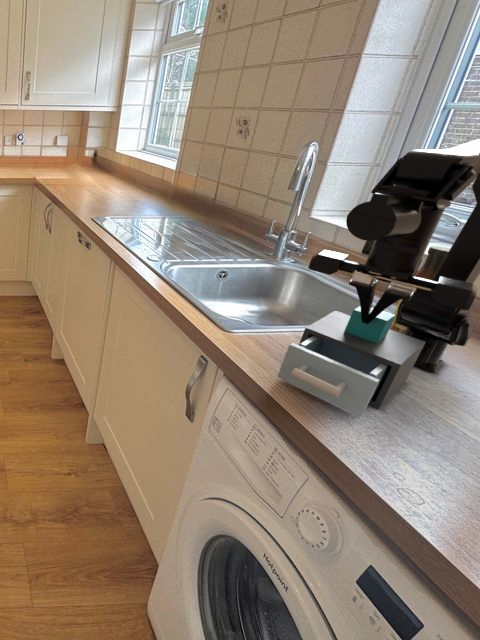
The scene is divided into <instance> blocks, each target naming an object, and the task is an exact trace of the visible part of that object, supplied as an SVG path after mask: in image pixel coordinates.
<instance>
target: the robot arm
mask: <svg viewBox="0 0 480 640" xmlns="http://www.w3.org/2000/svg"><path fill="white" fill-rule="evenodd" d="M470 185H471V189H472V192H473V195H474V198H475V202H476V204H475V206H474V207H473V209H472V211H471V213H470V215H469V216H468V218H467V220H466V221H465V223H464V225H463V227H462V228H461V230H460V231H459V233H458V235H457V237H456V238H455V240H454V242H453V244H452V245H451V247H450V250H449V252H448V254H447V256H446V257H445V259H444V261H443V262H442V264H441V266H440V267H439V269H438V271H437V273H436V274H435V276H434V278H433V279H432V280H427V279H423V278H419V277H414V274H416V272H417V271H418V270H419V269H420V265H421V264H422V261H423V257H424V255H425V253H426V250H427V248H428V246H429V244H430V242H431V240H432V238H433V235H434V233H435V231H436V229H437V227H438V224H439V223H440V220H441V218H442V217H443V214H444V212H445V209H446V208H449V207H450V206H452V202H453V201H454V200H455V199H456V198H457V197H459V196H460V194H462V193H463V192H464V191H465V190H466V189H467V188H468V187H469V186H470ZM370 192H371V194H372V196H371V198H370V200H369V201H365V202H362V203H359V204H357V205H356V206H355V207H353V208H352V209H351V211H349V212H348V214H347V216H346V219H345V223H346V228H347V230H348V231H349V233H350V234H351V235H352V236H353V237H355V238H357V239H358V240H362V241H365V243H364V245H363V247H362V249H361V255H363V256H367V258H366V261H365V264H364V263H359V262H356V261H351V260H348V259H349V254H347V253H342V252H338V251H334V250H328V249H324V248H323V249H322V250H320V251H318V252H317V253H315V254H313V256H312V257H311V259H310V262H309V265H308V267H307V269H309V270H310V271H314V272H318V273H321V274H325V275H329V276H330V275H334V274H336V273H338V272H339V271H340V272H344V273H349V274H352V275H351V276H352V278H351V279H350V280H349V282H348V285H349V286H351V287H355V291H356V293H357V296H358V301H359V304H360V305H359V306H360V307H361V317H362V323H366V324H369V323H370V322H371V321H372V320H373V319H374V318H376V317H377V316H378V315H379V314H380V313H381V312H382V311H385V310H386V309H387V308H389V307H390V306H392V305H394V304H396V302H399V301H400V299H403V300H402V301H401V303H400V305H399V307H398V312H397V316H396V320H395V323H396V324H400V325H402V326H405V327H407V329H406V331H405V333H404V335H407V336H410V337H413V338H416V339H419V340H422V341H425V344H424V346H423V348H422V350H421V352H420V354H419V356H418V358H417V360H416V362H415V364H414V366H416V367H417V368H421V369H424V370H426V371H429V372H432V373H436V372H437V371H438V369H440V368H441V366H442V365H443V364H444V362H445V361H444V360H443V359H441V358H442V356H443V355H444V353H445V351H446V349H447V348H448V346H449V345H450V346H451V347H452V346H459V347H460V346H461V347H465V346H466V345H467V343H468V342H469V340H470V338H471V336H472V334H473V332H474V331H473V322H472V321H473V320H472V317H471V316H470V315H471V314H472V311H473V310H474V307H475V304H474V301H475V299H476V297H477V292H478V287H477V286H476V285H475V284H474V283H475V282H476V280H477V279H478V277H479V275H480V138H477V139H474V140H471V141H468V142H465V143H462V144H459V145H455V146H453V147H450V148H447V149H446V148H445V149H438V148H437V149H436V148H434V149H433V148H431V149H430V148H429V149H427V148H425V149H411V150H410V151H409V152H406V153H405V154H404V155H402V156H401V157H399V158H398V159H397V160H396V162H395V163H394V164H393V165H392V166H391V167H390V168H389V169H388V170H387V172H386V173H385V174H384V175H383V176H382V178H381V179H379V181H378V183H376V185H375V186H374V187H373V189H372V190H371V191H370ZM379 282H383V283H384V282H385V283H388V284H389V285H388V286H387V288H386V290H385V291H384V292H383V294H382V295H381V297H380V298H379V299H378V301H377V302H376V304H375V305H374V307H373V302H374V297H375V293H376V290H377V287H378V284H379ZM371 307H373V310H372V311H371ZM370 311H371V313H370Z"/></svg>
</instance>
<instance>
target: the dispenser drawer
mask: <svg viewBox="0 0 480 640" xmlns="http://www.w3.org/2000/svg"><path fill="white" fill-rule="evenodd" d="M299 343H300V342H299ZM391 368H392V366H390V365H387V364H385V363H382V362H380V361H377V360H375V359H372V358H370V357H367V356H365V355H362V354H360V353H357V352H355V351H352V350H350V349H347V348H345V347H342V346H340V345H337V344H335V343H332V342H330V341H327V340H325V339H322V338H320V337H317V336H315V335H314V336H312V337H310V338H309V339H307V340H305V341H304V342H302V343H300V345H299V344H296V343H294V342H291V343H289V344H288V346H287V350H286V352H285V354H284V358H283V359H282V363H281V365H280V368H279V370H278V373H277V377H276V378H278V379H279V380H281V381H283V382H286V383H287V384H290V385H291V386H294V387H295V388H298V389H300V390H301V391H303V392H305V393H308V394H310V395H312V396H314V397H315V398H318V399H320V400H321V401H324V402H325V403H328V404H330V405H332V406H334V407H336V408H338V409H340V410H341V411H343V412H346V413H348V414H350V415H352V416H354V417H357V418H358V419H361V418H362V417H363V416H364V414H365V413H366V410H367V408H368V405H369V401H370V399H371V398H372V397H373V396H374V395H375V394H376V393H377V392H378V391H380V390H381V388H382V386H383V384H384V382H385V380H386V378H387V376H388V374H389V372H390V370H391Z"/></svg>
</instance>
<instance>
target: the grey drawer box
mask: <svg viewBox="0 0 480 640" xmlns="http://www.w3.org/2000/svg"><path fill="white" fill-rule="evenodd" d="M350 317H351V315H349V314H347V313H344V312H341V311H338V310H334V311H332V312H330V313H328V314H327V315H325V316H322V318H320V319H318V320H316V321H314V322H313V323H311V324H309V325H307V326H306V327H304V330H303V333H302V336H301V338H300V340H299V342H298V343H299V344H298V345H300V343H302V342H304V341H305V340H307V339H309V338H310V337H312V336H314V335H315V336H317V337H320V338H322V339H325V340H327V341H330V342H332V343H335V344H337V345H340V346H342V347H345V348H347V349H350V350H352V351H355V352H357V353H360V354H362V355H365V356H367V357H370V358H372V359H375V360H377V361H380V362H382V363H385V364H387V365H390V366H392V368H391V370H390V372H389V374H388V376H387V378H386V380H385V382H384V384H383V386H382V388H381V390H380V391H378V392H377V393H376V394H375V395H374V396H373V397H372V398H371V399H370V401H369V404H368V405H370V406H372V407H374V408H375V409H378V410H379V409H381V408H382V406H383V405H385V404H386V403H387V401H388V400H390V398H391V397H392V396H393V395H394V394H395V393H397V392H398V390H400V388H401V387H403V385H405V383H406V382H407V379H408V377H409V375H410V374H411V372H412V369H413V367H414V366H415V365H414V364H415V362H416V360H417V358H418V356H419V354H420V352H421V350H422V348H423V346H424V344H425V341H422V340H419V339H416V338H413V337H410V336H407V335H404V334H402V333H399V332H396V331H393V330H390V329H389V331H388V333H387V335H386V337H385V338H383V339H382V340H381V341H379V342H378V343H377V344H376V343H373V342H371V341H368V340H366V339H363V338H360V337H358V336H355V335H352V334H350V333H347V332H345V329H346V326H347V324H348V322H349V319H350Z"/></svg>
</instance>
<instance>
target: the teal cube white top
mask: <svg viewBox="0 0 480 640" xmlns="http://www.w3.org/2000/svg"><path fill="white" fill-rule="evenodd" d="M373 308H374V307H373V306H372V307H371V311H372V310H373ZM371 311H370V313H371ZM350 316H351V317H350V319H349V322H348V324H347V326H346V329H345V332H347V333H350V334H352V335H355V336H358V337H360V338H363V339H366V340H368V341H371V342H373V343H376V344H377V343H378V342H379V341H381V340H382V339H383V338H385V337H386V335H387V333H388V331H389V329H390V327H391V324H392V322H393V320H394V318H395V316H396V315H394V313H390V312H388V311H385V310H383V311H382V312H381V313H380V314H379V315H378V316H377V317H376V318H374V319H373V320H372V321H371V322H370V323H369V324H366V323H362V317H361V307H360V305H359V306H358V307H355V308H354V309H353V310H352V312H351V315H350Z"/></svg>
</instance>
